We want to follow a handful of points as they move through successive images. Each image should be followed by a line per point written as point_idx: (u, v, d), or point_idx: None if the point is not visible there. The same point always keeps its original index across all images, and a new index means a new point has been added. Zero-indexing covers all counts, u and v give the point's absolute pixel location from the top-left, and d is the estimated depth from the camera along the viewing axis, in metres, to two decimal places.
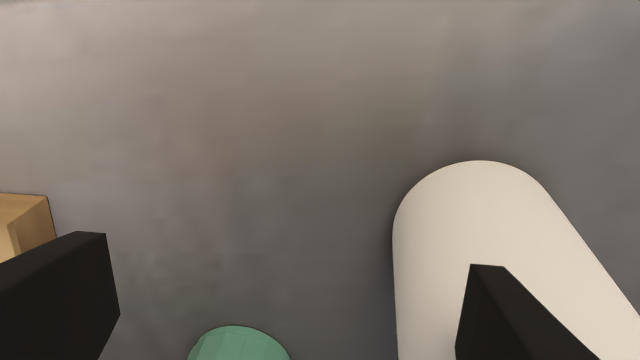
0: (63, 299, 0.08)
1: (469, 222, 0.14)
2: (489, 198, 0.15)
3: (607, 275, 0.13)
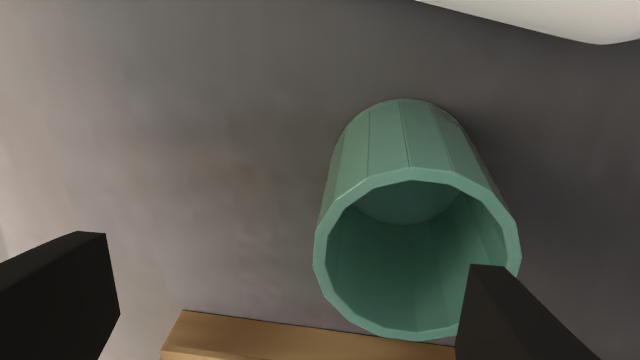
0: (63, 299, 0.08)
1: None
2: None
3: None
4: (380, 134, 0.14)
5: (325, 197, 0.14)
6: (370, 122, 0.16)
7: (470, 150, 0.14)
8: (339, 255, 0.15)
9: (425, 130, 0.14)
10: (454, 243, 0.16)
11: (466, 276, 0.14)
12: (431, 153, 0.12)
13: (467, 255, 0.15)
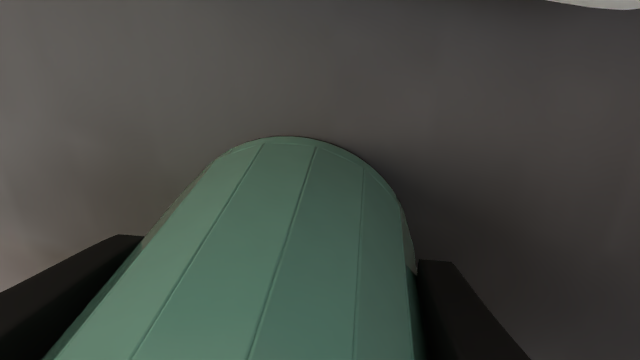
0: None
1: None
2: None
3: None
4: (175, 229, 0.07)
5: None
6: (190, 193, 0.08)
7: (357, 258, 0.07)
8: None
9: (262, 219, 0.07)
10: None
11: None
12: (222, 305, 0.05)
13: None
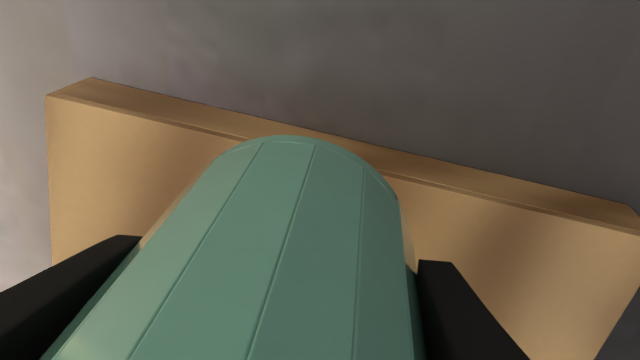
0: None
1: None
2: None
3: None
4: (175, 227, 0.07)
5: None
6: (190, 191, 0.08)
7: (357, 256, 0.07)
8: None
9: (262, 217, 0.07)
10: None
11: None
12: (222, 303, 0.05)
13: None
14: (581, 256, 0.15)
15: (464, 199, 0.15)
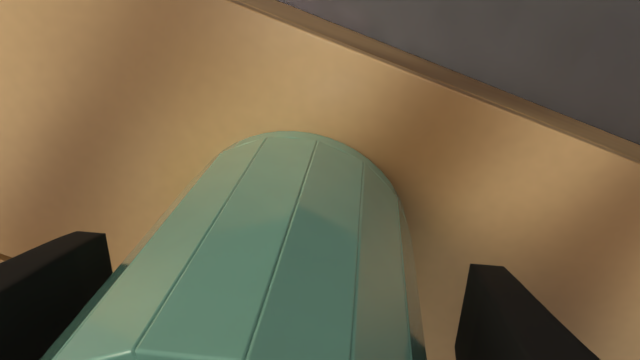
0: (63, 299, 0.08)
1: None
2: None
3: None
4: (182, 218, 0.07)
5: None
6: (196, 185, 0.09)
7: (356, 245, 0.07)
8: None
9: (266, 208, 0.07)
10: None
11: None
12: (229, 285, 0.05)
13: None
14: None
15: (577, 147, 0.10)
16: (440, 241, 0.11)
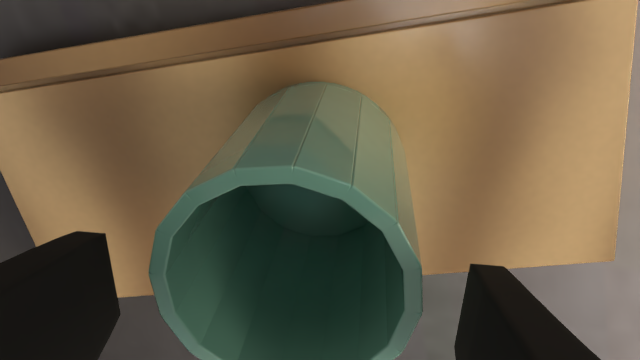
0: (63, 299, 0.08)
1: None
2: None
3: None
4: None
5: None
6: None
7: None
8: None
9: None
10: None
11: (194, 230, 0.11)
12: None
13: (207, 221, 0.12)
14: None
15: None
16: None
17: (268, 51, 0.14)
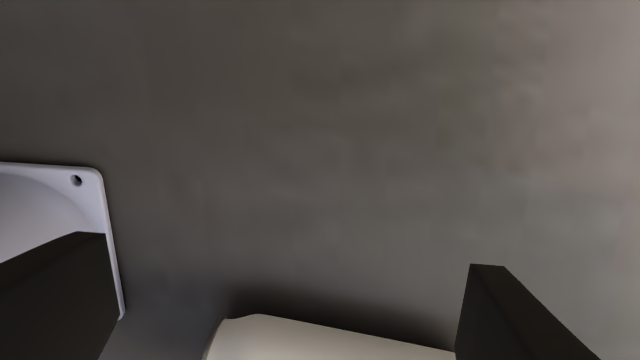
0: (63, 299, 0.08)
1: None
2: None
3: None
4: None
5: None
6: None
7: None
8: None
9: None
10: None
11: None
12: None
13: None
14: None
15: None
16: None
17: None
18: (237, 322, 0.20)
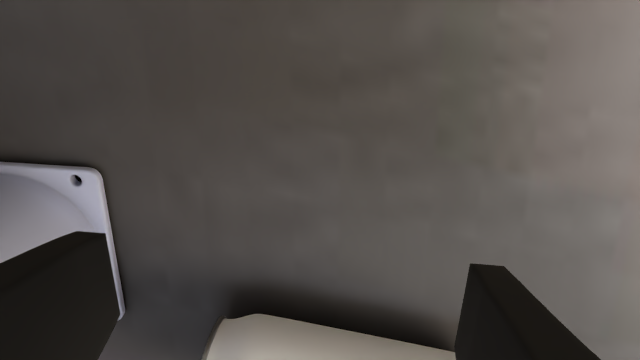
0: (63, 299, 0.08)
1: None
2: None
3: None
4: None
5: None
6: None
7: None
8: None
9: None
10: None
11: None
12: None
13: None
14: None
15: None
16: None
17: None
18: (237, 322, 0.20)
